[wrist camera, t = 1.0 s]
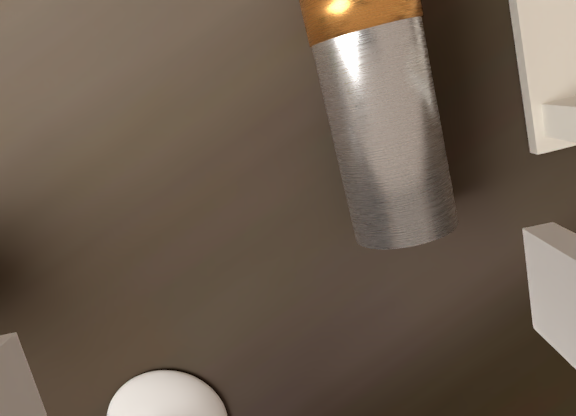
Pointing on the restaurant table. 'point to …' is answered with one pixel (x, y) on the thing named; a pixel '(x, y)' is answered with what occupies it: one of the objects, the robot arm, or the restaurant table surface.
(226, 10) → the restaurant table surface
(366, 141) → the air tube
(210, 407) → the wineglass
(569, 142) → the collar stand
